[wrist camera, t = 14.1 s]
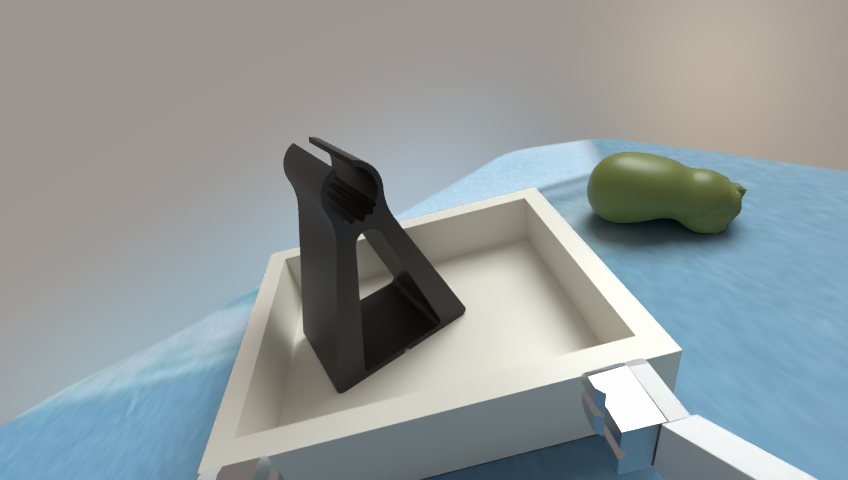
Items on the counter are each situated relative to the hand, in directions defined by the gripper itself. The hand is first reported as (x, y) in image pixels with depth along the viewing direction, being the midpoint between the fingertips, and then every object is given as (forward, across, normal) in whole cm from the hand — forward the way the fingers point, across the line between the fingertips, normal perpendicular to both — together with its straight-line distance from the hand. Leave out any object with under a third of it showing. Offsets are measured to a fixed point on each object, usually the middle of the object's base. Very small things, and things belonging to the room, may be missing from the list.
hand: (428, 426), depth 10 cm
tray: (+12, 0, +10) cm, 15 cm away
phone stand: (+13, +3, +9) cm, 16 cm away
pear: (+18, -19, +10) cm, 28 cm away
